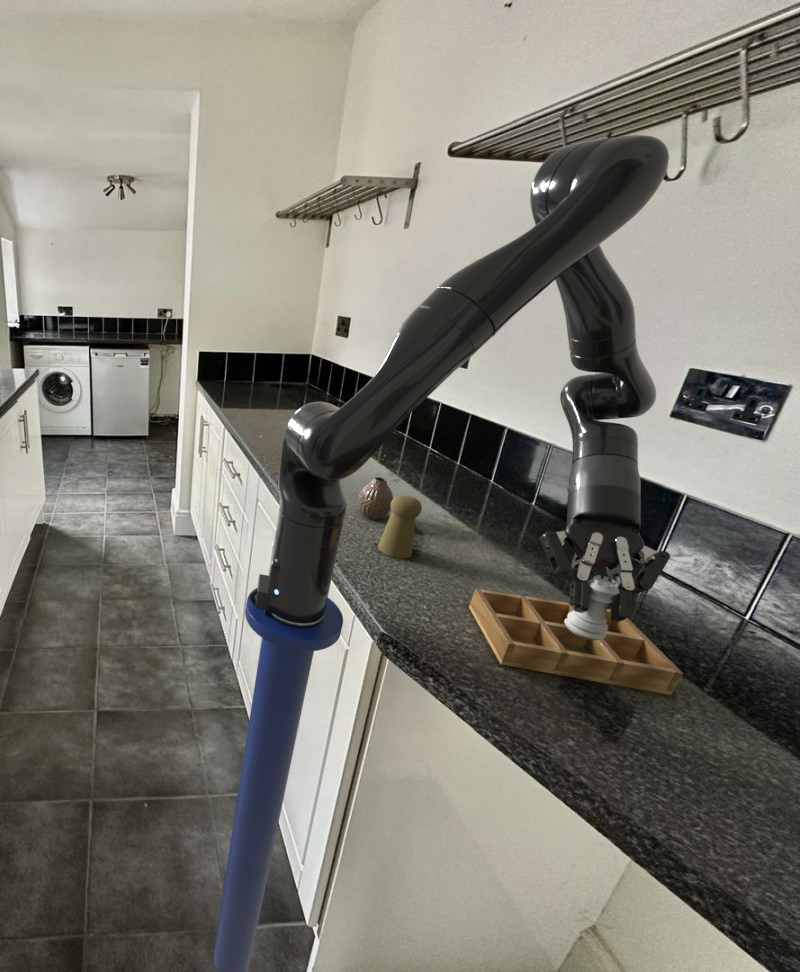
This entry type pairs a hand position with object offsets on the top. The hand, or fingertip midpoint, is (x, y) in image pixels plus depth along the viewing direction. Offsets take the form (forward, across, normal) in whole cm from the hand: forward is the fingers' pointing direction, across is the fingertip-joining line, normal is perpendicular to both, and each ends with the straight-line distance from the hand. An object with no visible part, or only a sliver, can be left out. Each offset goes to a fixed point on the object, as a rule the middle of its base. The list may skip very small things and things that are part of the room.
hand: (599, 614), depth 65 cm
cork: (-11, -22, +24) cm, 34 cm away
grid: (+3, -1, +10) cm, 10 cm away
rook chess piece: (+2, 0, +4) cm, 5 cm away
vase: (-21, -27, +34) cm, 48 cm away
